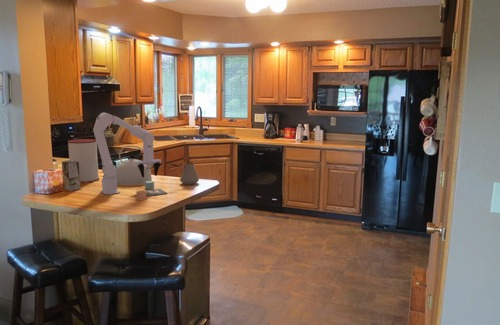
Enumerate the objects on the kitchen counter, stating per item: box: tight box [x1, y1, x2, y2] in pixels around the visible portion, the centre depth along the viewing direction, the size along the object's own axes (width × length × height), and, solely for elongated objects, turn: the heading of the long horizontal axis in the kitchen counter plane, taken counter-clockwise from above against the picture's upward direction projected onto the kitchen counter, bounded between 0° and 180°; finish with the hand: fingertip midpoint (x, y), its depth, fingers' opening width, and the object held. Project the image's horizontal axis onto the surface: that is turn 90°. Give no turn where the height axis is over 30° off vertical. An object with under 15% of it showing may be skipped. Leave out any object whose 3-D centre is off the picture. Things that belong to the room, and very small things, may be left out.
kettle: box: [116, 145, 154, 186], centre depth 262 cm, size 25×23×22 cm
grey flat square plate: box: [145, 188, 168, 198], centre depth 234 cm, size 11×11×1 cm
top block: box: [135, 190, 148, 201], centre depth 222 cm, size 4×4×4 cm
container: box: [67, 138, 100, 184], centre depth 265 cm, size 17×17×25 cm
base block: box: [144, 180, 155, 190], centre depth 245 cm, size 4×4×4 cm
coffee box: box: [61, 159, 81, 192], centre depth 242 cm, size 9×6×16 cm
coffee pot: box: [165, 161, 200, 186], centre depth 253 cm, size 21×12×15 cm, turn 132°
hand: (149, 176), depth 244 cm, fingers open, 7 cm apart
